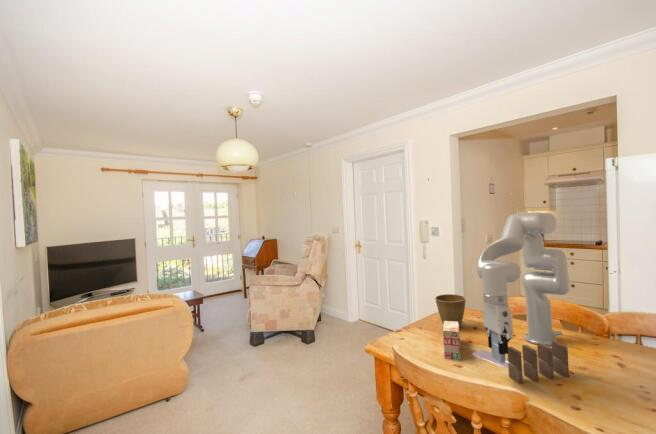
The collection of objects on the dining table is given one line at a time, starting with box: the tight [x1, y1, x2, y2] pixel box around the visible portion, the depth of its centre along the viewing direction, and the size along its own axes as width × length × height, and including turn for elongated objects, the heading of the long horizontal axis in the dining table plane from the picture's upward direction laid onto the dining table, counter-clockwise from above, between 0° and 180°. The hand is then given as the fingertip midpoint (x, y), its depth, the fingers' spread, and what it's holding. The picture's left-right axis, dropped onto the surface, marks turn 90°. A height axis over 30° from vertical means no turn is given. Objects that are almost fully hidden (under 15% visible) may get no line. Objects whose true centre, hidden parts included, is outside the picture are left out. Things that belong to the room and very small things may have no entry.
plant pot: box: [434, 293, 466, 330], centre depth 168 cm, size 15×15×16 cm
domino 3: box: [521, 344, 540, 383], centre depth 114 cm, size 2×5×11 cm, turn 7°
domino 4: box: [536, 343, 555, 381], centre depth 115 cm, size 2×5×11 cm, turn 7°
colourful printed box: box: [442, 321, 461, 361], centre depth 142 cm, size 21×6×12 cm, turn 158°
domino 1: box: [491, 330, 506, 363], centre depth 113 cm, size 2×5×11 cm, turn 7°
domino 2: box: [507, 346, 524, 385], centre depth 113 cm, size 2×5×11 cm, turn 7°
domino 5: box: [551, 341, 570, 379], centre depth 116 cm, size 2×5×11 cm, turn 7°
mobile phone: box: [471, 349, 508, 368], centre depth 131 cm, size 8×1×15 cm
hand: (498, 349), depth 113 cm, fingers closed on domino 1, 4 cm apart
